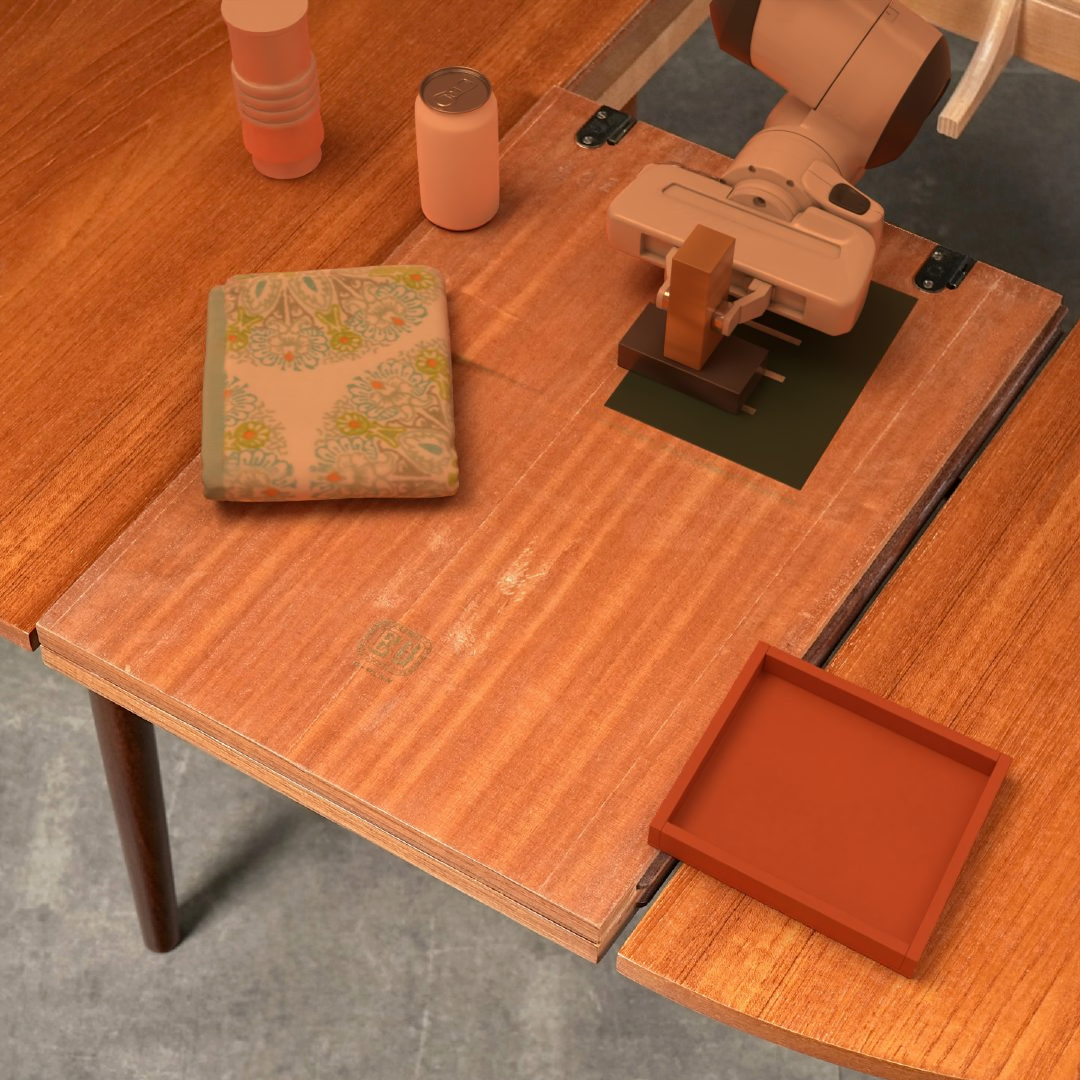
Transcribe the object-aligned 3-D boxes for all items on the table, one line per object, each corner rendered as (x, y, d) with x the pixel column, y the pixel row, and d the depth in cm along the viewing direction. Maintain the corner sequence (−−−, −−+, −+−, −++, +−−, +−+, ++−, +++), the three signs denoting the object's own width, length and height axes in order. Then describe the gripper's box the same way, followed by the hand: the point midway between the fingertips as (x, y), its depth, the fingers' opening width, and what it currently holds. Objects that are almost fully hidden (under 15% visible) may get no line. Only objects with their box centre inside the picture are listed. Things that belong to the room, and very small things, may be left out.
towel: (449, 295, 134) (446, 247, 129) (461, 508, 121) (458, 463, 117) (217, 306, 133) (207, 259, 129) (204, 522, 120) (192, 477, 116)
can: (404, 209, 139) (395, 91, 130) (457, 169, 142) (452, 51, 133) (463, 245, 137) (458, 128, 127) (515, 203, 140) (514, 85, 130)
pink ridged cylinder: (300, 117, 146) (280, -33, 134) (342, 162, 143) (325, 11, 131) (230, 148, 144) (203, -3, 132) (271, 194, 140) (247, 44, 128)
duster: (765, 372, 127) (785, 251, 117) (736, 416, 125) (753, 296, 115) (648, 323, 130) (657, 201, 120) (616, 365, 128) (623, 244, 118)
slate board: (916, 309, 133) (919, 298, 132) (798, 501, 122) (800, 490, 121) (732, 237, 138) (734, 226, 137) (602, 415, 126) (602, 405, 125)
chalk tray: (1005, 776, 108) (1013, 757, 106) (910, 979, 100) (918, 962, 98) (755, 660, 114) (759, 639, 111) (646, 843, 105) (649, 825, 103)
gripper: (656, 123, 129) (566, 232, 122) (905, 216, 123) (826, 336, 116) (651, 186, 134) (565, 295, 127) (890, 278, 128) (814, 398, 121)
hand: (692, 315), depth 122 cm, fingers closed on duster, 3 cm apart
